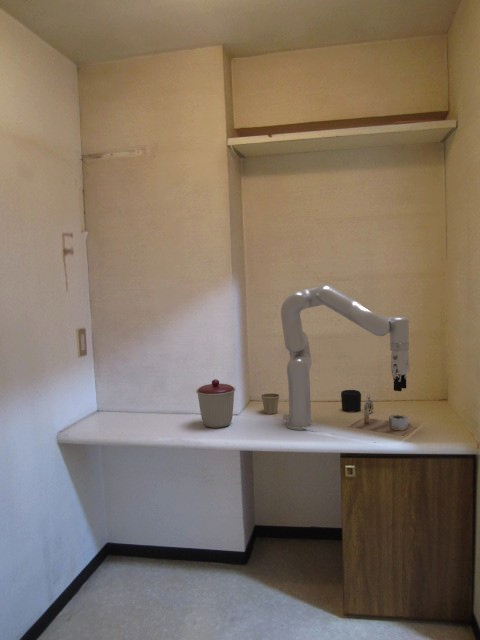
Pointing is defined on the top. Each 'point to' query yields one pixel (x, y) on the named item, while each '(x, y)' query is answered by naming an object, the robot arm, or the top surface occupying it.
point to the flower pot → (270, 402)
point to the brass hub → (398, 429)
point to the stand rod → (366, 417)
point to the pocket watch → (368, 405)
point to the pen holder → (351, 401)
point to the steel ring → (398, 421)
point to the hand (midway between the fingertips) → (400, 389)
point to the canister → (216, 404)
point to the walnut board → (380, 426)
